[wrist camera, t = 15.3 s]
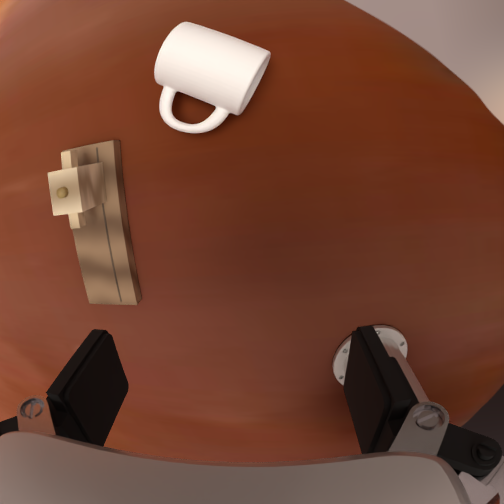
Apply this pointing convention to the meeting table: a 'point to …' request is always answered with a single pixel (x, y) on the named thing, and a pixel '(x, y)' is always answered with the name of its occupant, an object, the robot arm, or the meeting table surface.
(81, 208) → the beige block with peg
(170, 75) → the mug
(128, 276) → the board
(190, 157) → the meeting table surface
